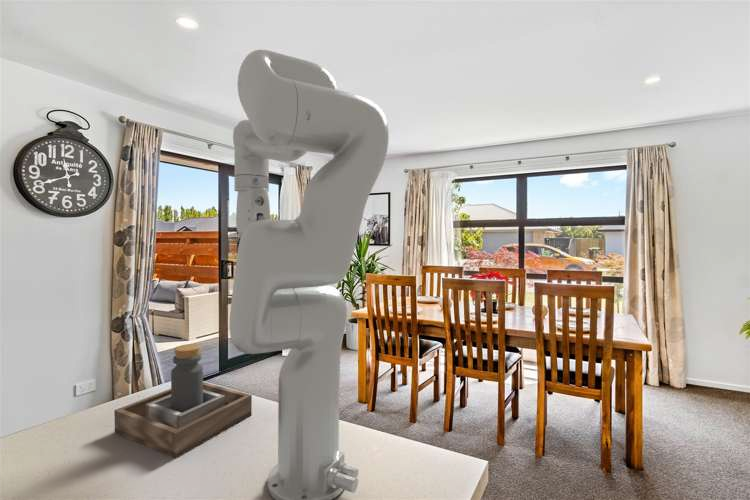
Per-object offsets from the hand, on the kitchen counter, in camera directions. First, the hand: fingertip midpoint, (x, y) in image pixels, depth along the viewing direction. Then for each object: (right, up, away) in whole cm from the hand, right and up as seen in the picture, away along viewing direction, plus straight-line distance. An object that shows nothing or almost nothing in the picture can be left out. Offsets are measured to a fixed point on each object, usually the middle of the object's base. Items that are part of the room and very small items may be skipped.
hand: (251, 259), depth 90 cm
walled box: (-10, -34, -11) cm, 37 cm away
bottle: (-10, -33, -11) cm, 36 cm away
